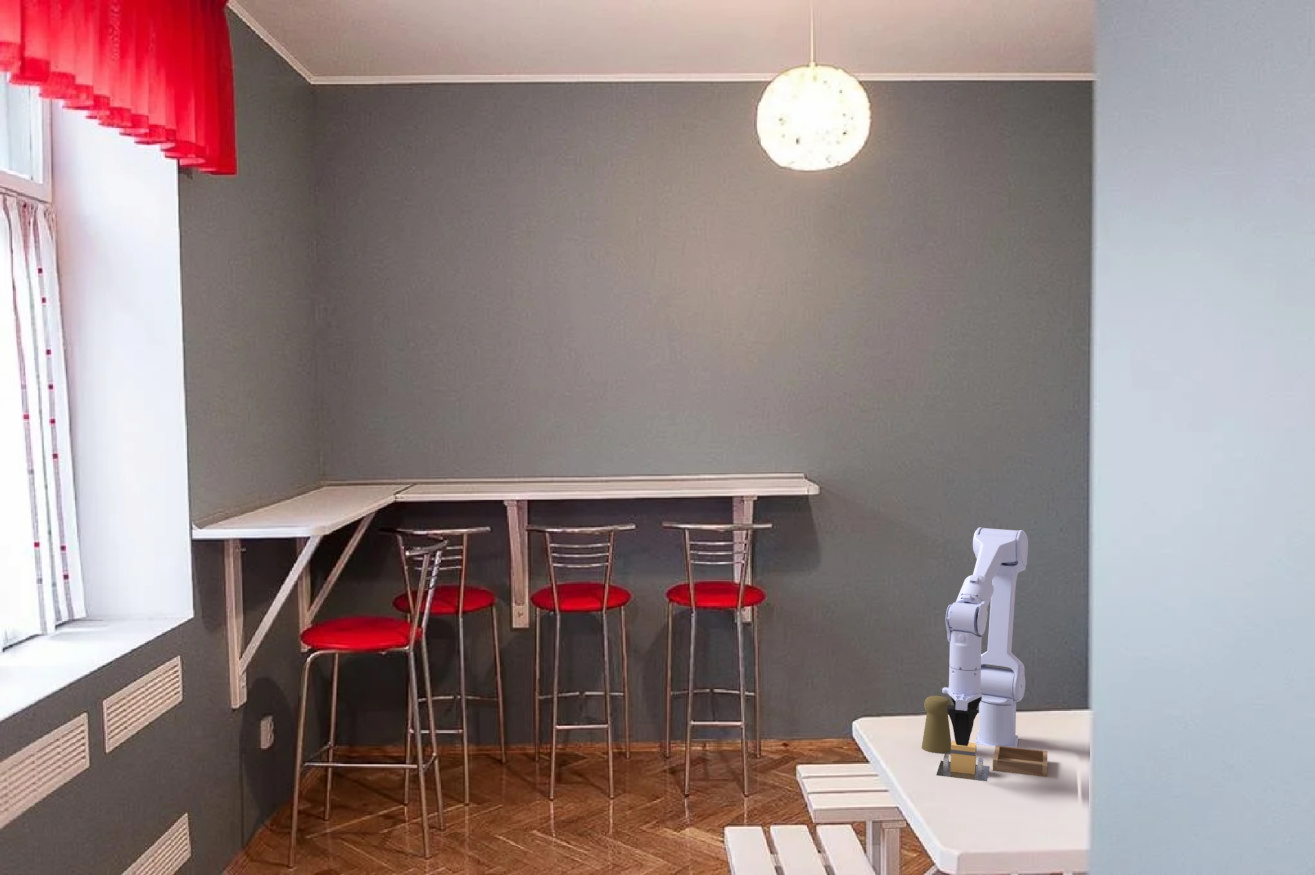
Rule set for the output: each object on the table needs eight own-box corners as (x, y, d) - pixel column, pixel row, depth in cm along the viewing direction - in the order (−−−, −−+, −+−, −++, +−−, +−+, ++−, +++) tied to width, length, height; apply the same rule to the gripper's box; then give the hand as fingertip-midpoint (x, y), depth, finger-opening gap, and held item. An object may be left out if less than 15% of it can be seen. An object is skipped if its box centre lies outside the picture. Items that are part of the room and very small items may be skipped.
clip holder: (940, 763, 213) (941, 748, 213) (989, 769, 210) (989, 753, 209) (936, 778, 204) (936, 762, 204) (986, 784, 201) (987, 768, 201)
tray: (995, 758, 216) (995, 745, 216) (1047, 764, 213) (1047, 751, 213) (992, 773, 207) (992, 760, 207) (1046, 780, 204) (1047, 766, 204)
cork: (953, 757, 217) (954, 701, 216) (921, 755, 218) (922, 699, 218) (951, 748, 223) (952, 694, 222) (920, 746, 224) (921, 692, 223)
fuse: (951, 767, 209) (951, 740, 209) (976, 769, 207) (976, 743, 207) (950, 771, 206) (950, 745, 206) (975, 774, 205) (975, 747, 205)
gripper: (946, 657, 214) (945, 726, 215) (939, 673, 201) (937, 747, 201) (984, 660, 212) (983, 730, 212) (979, 677, 198) (978, 752, 199)
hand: (963, 739), depth 207 cm, fingers open, 7 cm apart
